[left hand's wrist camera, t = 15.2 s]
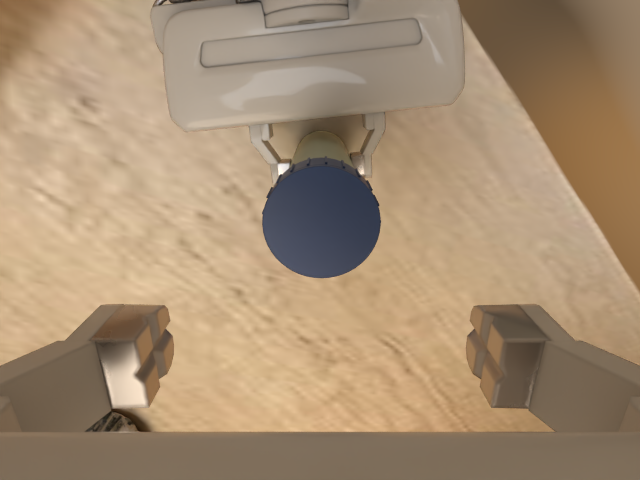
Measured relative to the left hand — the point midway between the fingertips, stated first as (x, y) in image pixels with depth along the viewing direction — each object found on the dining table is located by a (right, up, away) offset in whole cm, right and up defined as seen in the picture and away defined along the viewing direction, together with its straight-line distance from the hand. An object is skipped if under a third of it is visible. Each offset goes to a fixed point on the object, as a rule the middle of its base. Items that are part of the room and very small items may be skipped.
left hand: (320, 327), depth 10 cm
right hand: (0, +7, +20) cm, 21 cm away
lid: (0, +3, +8) cm, 9 cm away
